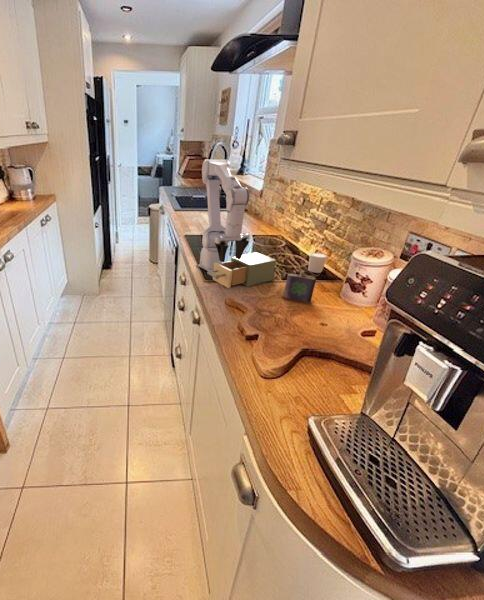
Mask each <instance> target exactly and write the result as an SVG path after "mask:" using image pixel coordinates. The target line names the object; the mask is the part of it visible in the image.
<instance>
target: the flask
mask: <svg viewBox="0 0 484 600" xmlns="http://www.w3.org/2000/svg"><path fill="white" fill-rule="evenodd" d="M316 282H317V279H316V277H314V276H312V275H307V274H306V273H305V270H300V272H299V274H297V273H288V274H287V275H286V281H285V286H284V290H283V291H284V292H283V295H282V298H283V299H286V300H290V301H295V302H302V303H306V304H311V301H312V298H313V294H314V289H315V287H316V286H315V285H316Z"/></svg>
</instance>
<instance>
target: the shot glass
mask: <svg viewBox="0 0 484 600" xmlns="http://www.w3.org/2000/svg"><path fill="white" fill-rule="evenodd" d="M328 257H329V256H328V255H326V254H324V253H320V252H311V253H310V254H309V259H308V265H307V266H308V268H307V270H308V271H309V272H310V273H314V274H315V273H316V274H321V273H322V272H323V271H324V267H325V265H326V262H327V259H328Z"/></svg>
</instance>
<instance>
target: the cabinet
mask: <svg viewBox="0 0 484 600" xmlns="http://www.w3.org/2000/svg"><path fill="white" fill-rule="evenodd" d="M234 260H235V261H237V262H240V263H242V264H244V265H246V266H248V267H249V268H248V274H247V281H246V282H244V283H241V284H242V285H244V286H246V287H251V286H254V285H259V284H263V283H266V282H267V283H268V282H270V281H273V279H274V273H275V270H276V269H275V268H276V262H277V259H275V258H272V257H270V256H267V255H265V254H262V253H260V252H250V253H245V254H242V256H241V258H240V259H237V258H235V255H234V256H231V259H230V261H234Z"/></svg>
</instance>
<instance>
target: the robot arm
mask: <svg viewBox="0 0 484 600" xmlns="http://www.w3.org/2000/svg"><path fill="white" fill-rule="evenodd" d="M201 165H202V167H201V180H202V183H203V184H204V185H205V186H206V197H207V198H206V199H207V214H208V226H207V227H205V228H204V230H203V231H202V239H201V243H202V248H201V250H200V256H199V264H198V265H197V266H198V267H199V268H201V269H203V270H205V271H207V272H208V270H210V271H213V270H214V263H218V264H220V263H224V262H226V261H225V260H226V254H227V251H228V248H229V242H235V253H234V254H235V255H234V256H235V258H237V259H240V258H241V256H242V255H243V254H244V251H245V249H246V248H247V246H248V245H249V244H250V241H249V240H250V238H251V237H250V235H251V234H250V233H247V232H242V231H243V223H244V218H245V217H244V216H245V210H246V209H245V207H246V206H247V205H248V204H249V201H250V190H249V188H248V187H243V186H242V185H241V184H240V182H239V180H238V179H237V177H236V176H235V175H232V174H231V172H230V169H231V164H230V161H229V160H228V159H226V158H225V159H208V158H205V159H204V161H203V162H202V164H201ZM220 185H221V188H222V191H224V193H225V195H226V196H225V202H226V207H225V208H226V211H227V213H226V221H225V227H224V225H222V222H221V220H222V219H221V204H220V203H221V202H220V188H219V187H220Z"/></svg>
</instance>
